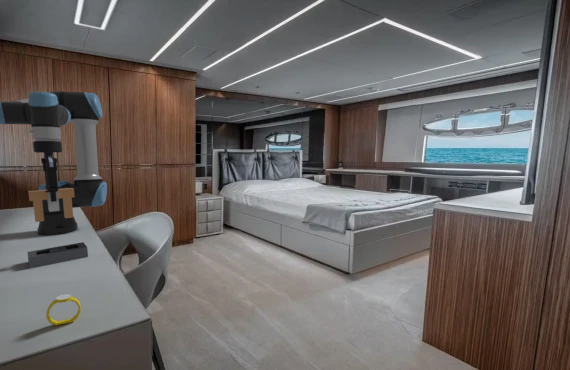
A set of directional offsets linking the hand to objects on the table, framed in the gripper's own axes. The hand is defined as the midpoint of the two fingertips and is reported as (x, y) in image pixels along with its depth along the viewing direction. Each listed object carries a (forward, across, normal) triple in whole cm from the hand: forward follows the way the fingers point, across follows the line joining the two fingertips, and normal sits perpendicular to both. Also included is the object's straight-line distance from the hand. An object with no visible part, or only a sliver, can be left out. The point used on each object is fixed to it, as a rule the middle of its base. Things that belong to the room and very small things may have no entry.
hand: (53, 210), depth 104 cm
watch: (+18, +49, -3) cm, 53 cm away
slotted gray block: (+17, 0, 0) cm, 17 cm away
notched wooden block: (+3, 0, 0) cm, 3 cm away
